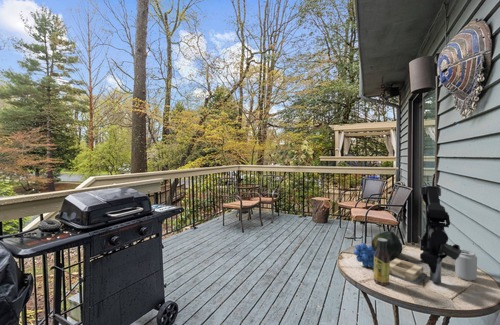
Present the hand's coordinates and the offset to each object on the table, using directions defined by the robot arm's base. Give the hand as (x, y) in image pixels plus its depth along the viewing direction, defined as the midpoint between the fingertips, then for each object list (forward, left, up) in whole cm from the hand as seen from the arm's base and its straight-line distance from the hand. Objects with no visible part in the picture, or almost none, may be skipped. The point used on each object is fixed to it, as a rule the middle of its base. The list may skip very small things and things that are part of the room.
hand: (435, 271), depth 110 cm
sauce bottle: (+18, -15, -5) cm, 24 cm away
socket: (+2, -12, -5) cm, 13 cm away
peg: (0, 0, -4) cm, 4 cm away
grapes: (+9, -27, -5) cm, 29 cm away
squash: (-14, -27, -5) cm, 31 cm away
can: (-16, +7, -5) cm, 18 cm away
